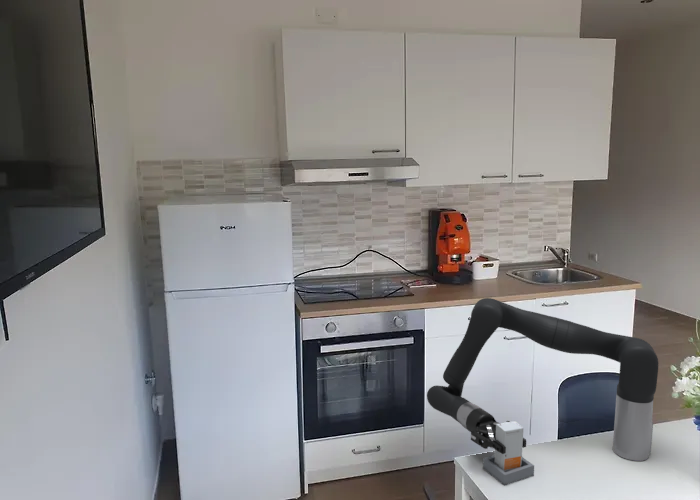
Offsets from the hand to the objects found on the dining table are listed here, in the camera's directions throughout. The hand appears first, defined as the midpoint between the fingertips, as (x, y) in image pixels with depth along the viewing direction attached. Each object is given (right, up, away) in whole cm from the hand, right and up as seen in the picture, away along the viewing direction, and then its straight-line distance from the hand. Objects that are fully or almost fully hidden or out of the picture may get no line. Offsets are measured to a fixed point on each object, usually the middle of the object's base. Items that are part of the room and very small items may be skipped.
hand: (515, 447), depth 139 cm
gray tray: (-1, -8, +3) cm, 9 cm away
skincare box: (-1, -7, +3) cm, 7 cm away
